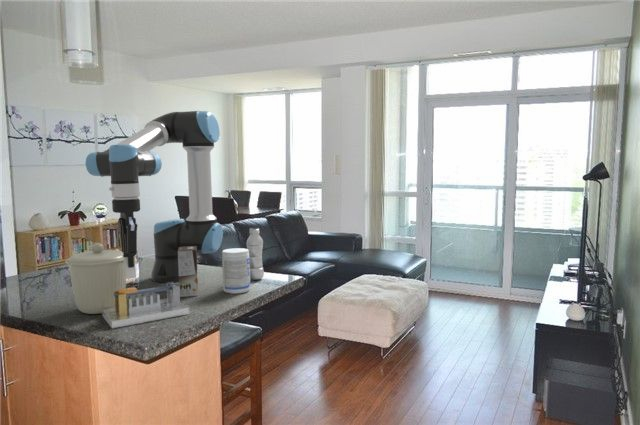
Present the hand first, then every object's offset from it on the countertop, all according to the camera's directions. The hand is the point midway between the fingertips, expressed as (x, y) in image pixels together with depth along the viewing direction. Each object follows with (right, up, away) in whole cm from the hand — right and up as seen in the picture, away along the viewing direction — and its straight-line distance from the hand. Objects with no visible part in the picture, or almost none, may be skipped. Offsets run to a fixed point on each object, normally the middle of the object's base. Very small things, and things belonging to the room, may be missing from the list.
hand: (130, 277), depth 144 cm
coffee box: (+10, -9, +27) cm, 30 cm away
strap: (+4, -5, +3) cm, 7 cm away
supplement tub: (+26, -9, +30) cm, 41 cm away
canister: (-13, -11, +9) cm, 19 cm away
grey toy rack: (+3, -12, +3) cm, 13 cm away
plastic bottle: (+31, -7, +46) cm, 56 cm away
